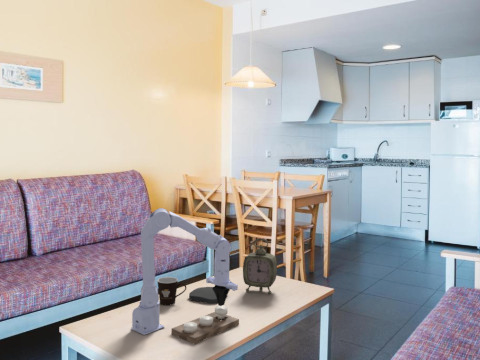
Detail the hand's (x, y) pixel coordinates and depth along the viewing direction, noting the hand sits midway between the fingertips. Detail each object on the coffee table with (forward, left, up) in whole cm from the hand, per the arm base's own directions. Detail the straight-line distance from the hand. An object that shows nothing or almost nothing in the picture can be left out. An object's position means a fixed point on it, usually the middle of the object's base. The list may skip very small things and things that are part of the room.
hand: (221, 304), depth 170 cm
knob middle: (-8, 0, -7) cm, 11 cm away
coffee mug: (0, +30, -7) cm, 31 cm away
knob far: (0, 0, -5) cm, 5 cm away
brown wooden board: (-8, 0, -7) cm, 11 cm away
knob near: (-16, 0, -7) cm, 17 cm away
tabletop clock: (+39, +12, -7) cm, 42 cm away
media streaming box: (+17, +24, -8) cm, 31 cm away
